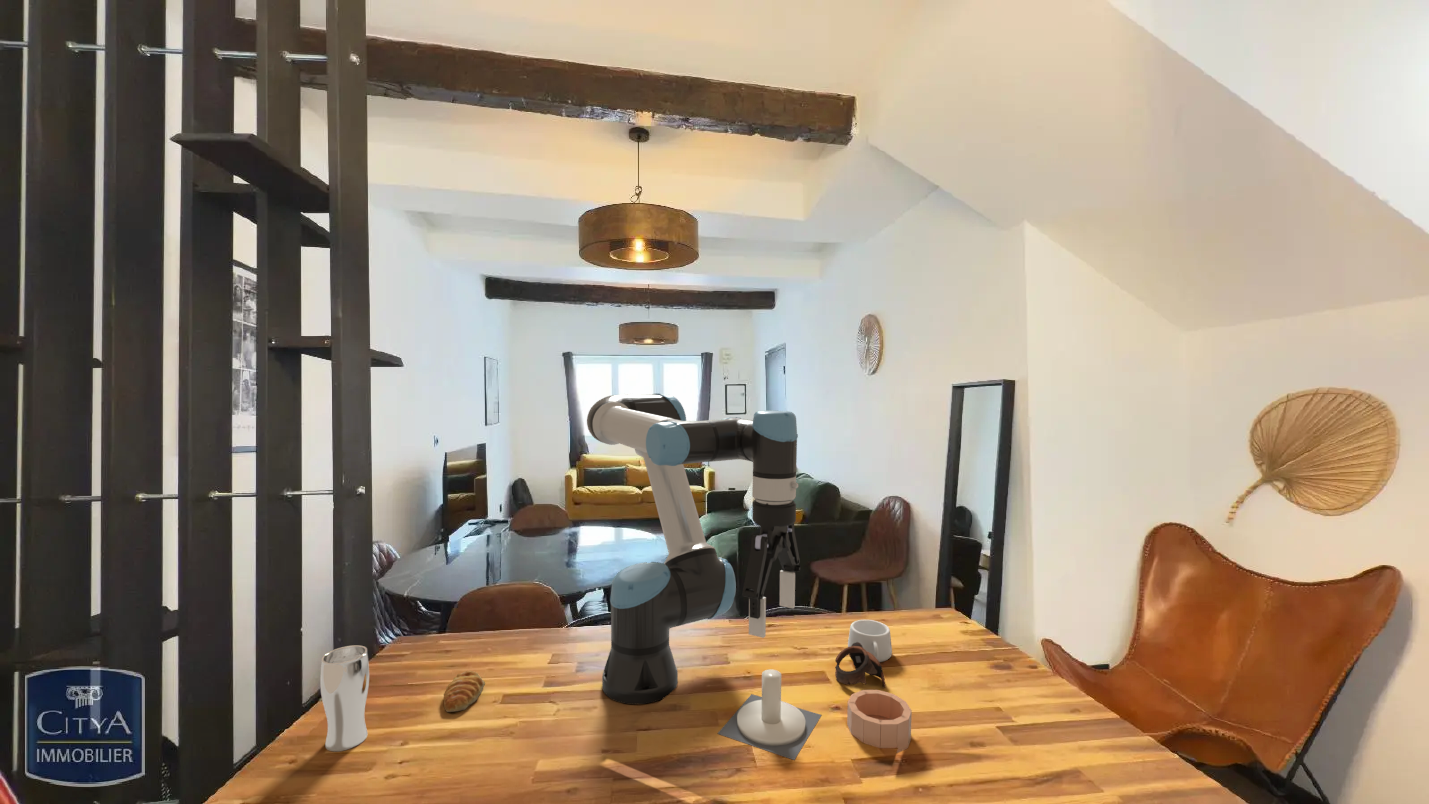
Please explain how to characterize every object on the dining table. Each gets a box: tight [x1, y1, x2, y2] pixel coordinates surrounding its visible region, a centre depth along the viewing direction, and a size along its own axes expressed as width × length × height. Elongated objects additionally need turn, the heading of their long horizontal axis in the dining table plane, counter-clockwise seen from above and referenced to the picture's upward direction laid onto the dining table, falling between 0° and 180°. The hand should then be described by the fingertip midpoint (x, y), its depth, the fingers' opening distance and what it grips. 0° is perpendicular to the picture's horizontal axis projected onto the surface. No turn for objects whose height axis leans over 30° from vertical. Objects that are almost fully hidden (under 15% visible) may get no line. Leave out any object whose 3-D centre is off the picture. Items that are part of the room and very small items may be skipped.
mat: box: [717, 693, 823, 761], centre depth 102 cm, size 14×14×1 cm
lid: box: [737, 668, 805, 746], centre depth 102 cm, size 12×12×9 cm
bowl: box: [846, 689, 913, 754], centre depth 101 cm, size 10×10×5 cm
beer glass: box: [319, 644, 370, 752], centre depth 98 cm, size 7×7×15 cm
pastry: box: [443, 670, 486, 713], centre depth 110 cm, size 9×7×4 cm
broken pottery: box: [834, 642, 887, 689], centre depth 119 cm, size 12×10×8 cm
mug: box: [847, 619, 893, 663], centre depth 129 cm, size 12×10×6 cm
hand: (772, 620), depth 101 cm, fingers open, 13 cm apart
